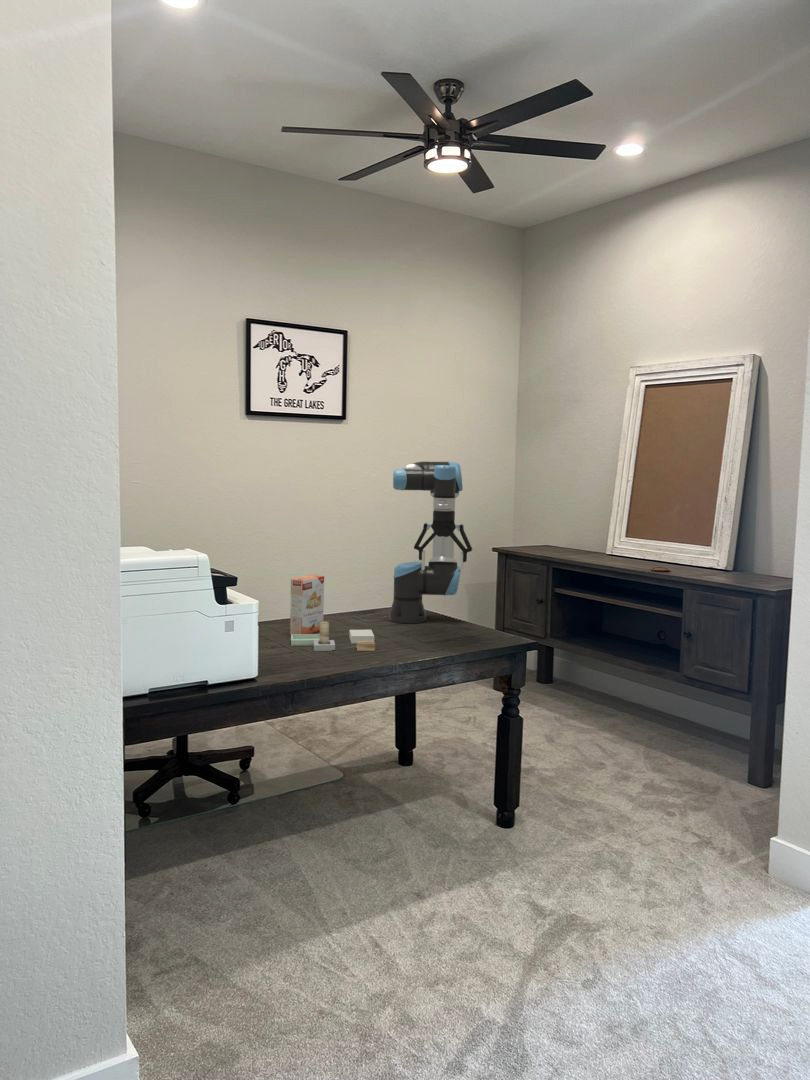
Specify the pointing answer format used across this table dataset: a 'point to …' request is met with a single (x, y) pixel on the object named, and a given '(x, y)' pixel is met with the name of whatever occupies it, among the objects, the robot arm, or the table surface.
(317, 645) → the holder
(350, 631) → the white rectangular block
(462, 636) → the table surface
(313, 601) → the cracker box
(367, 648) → the wooden block
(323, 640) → the pestle
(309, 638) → the tray
